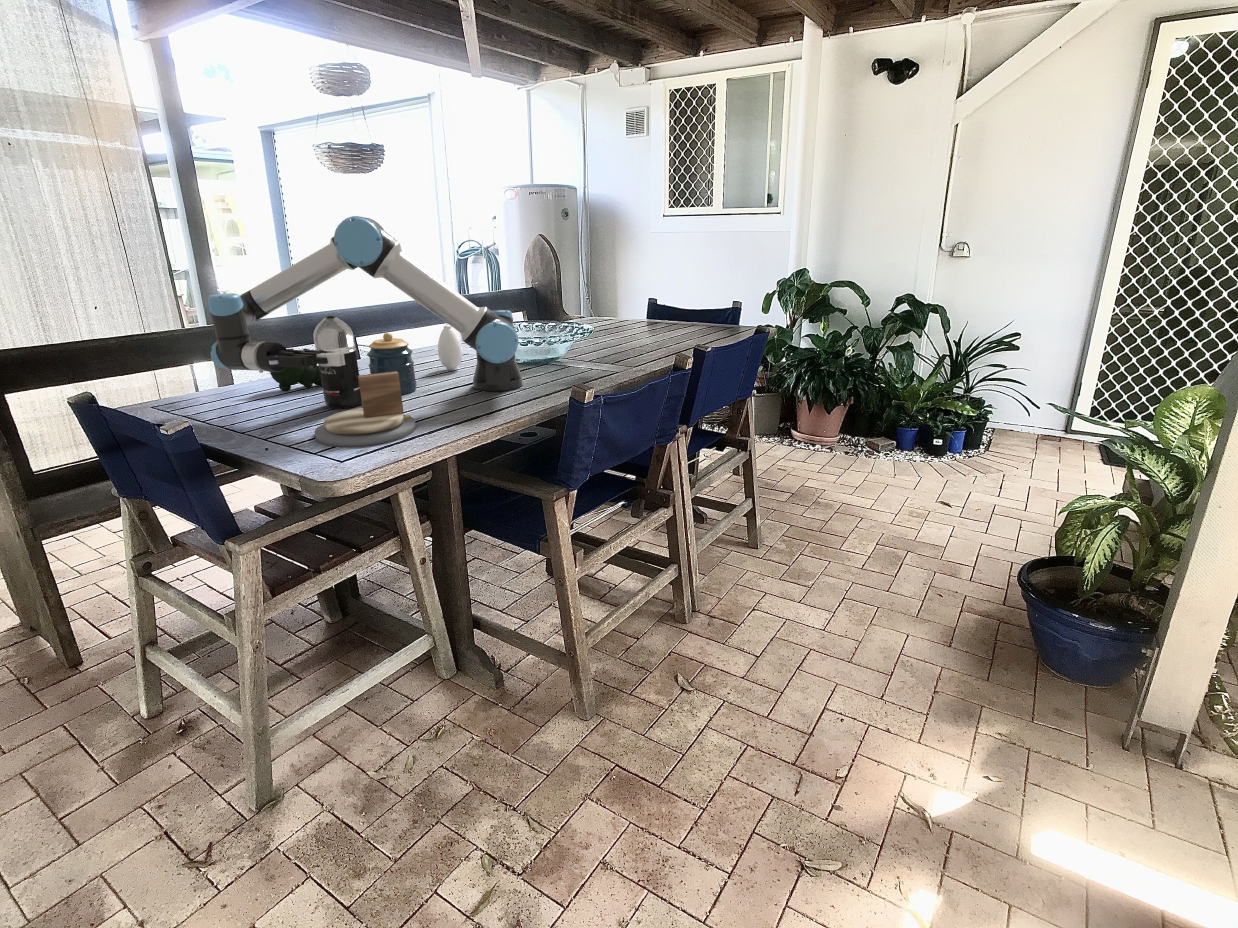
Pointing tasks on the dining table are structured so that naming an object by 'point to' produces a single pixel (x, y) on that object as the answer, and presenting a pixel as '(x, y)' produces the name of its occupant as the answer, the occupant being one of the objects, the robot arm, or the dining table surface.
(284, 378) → the toy figurine
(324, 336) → the black chrome cylinder
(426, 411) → the dining table surface
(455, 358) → the white tall oval piece
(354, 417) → the dial
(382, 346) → the canister
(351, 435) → the base
